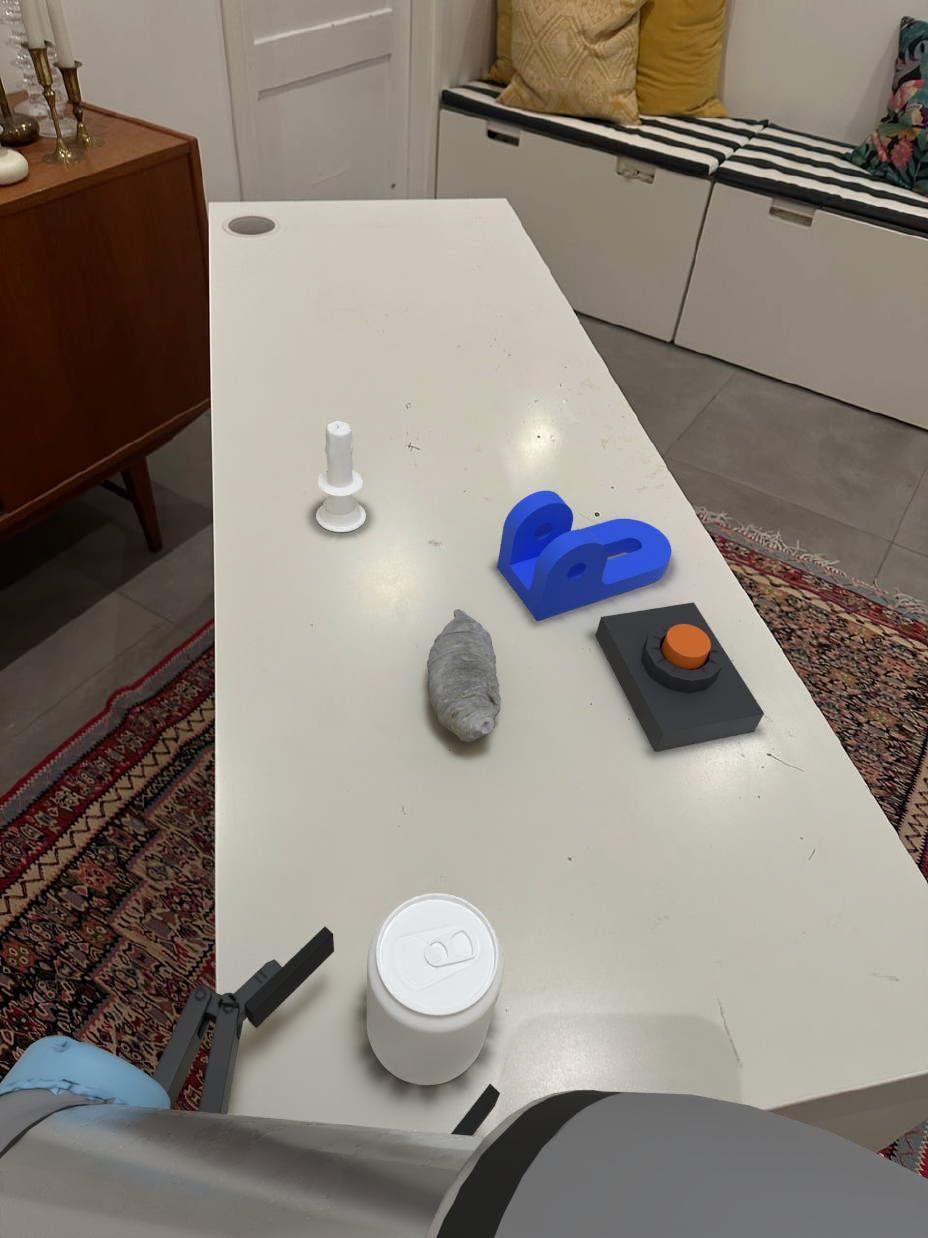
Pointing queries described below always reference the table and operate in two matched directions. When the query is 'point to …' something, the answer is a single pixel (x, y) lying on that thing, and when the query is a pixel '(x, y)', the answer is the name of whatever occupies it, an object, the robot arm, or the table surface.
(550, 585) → the bracket
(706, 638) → the switch
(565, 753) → the table surface
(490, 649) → the grey ridged oval piece
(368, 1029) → the beverage can
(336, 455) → the candle
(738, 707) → the push button base
